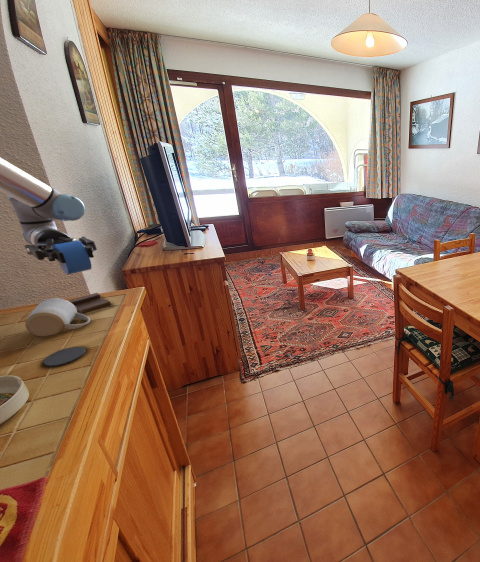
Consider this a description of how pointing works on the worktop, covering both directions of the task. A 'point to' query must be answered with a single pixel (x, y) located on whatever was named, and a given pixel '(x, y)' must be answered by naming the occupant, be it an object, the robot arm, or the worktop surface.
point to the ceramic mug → (53, 317)
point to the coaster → (64, 356)
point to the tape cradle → (89, 302)
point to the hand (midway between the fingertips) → (76, 255)
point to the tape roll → (74, 257)
